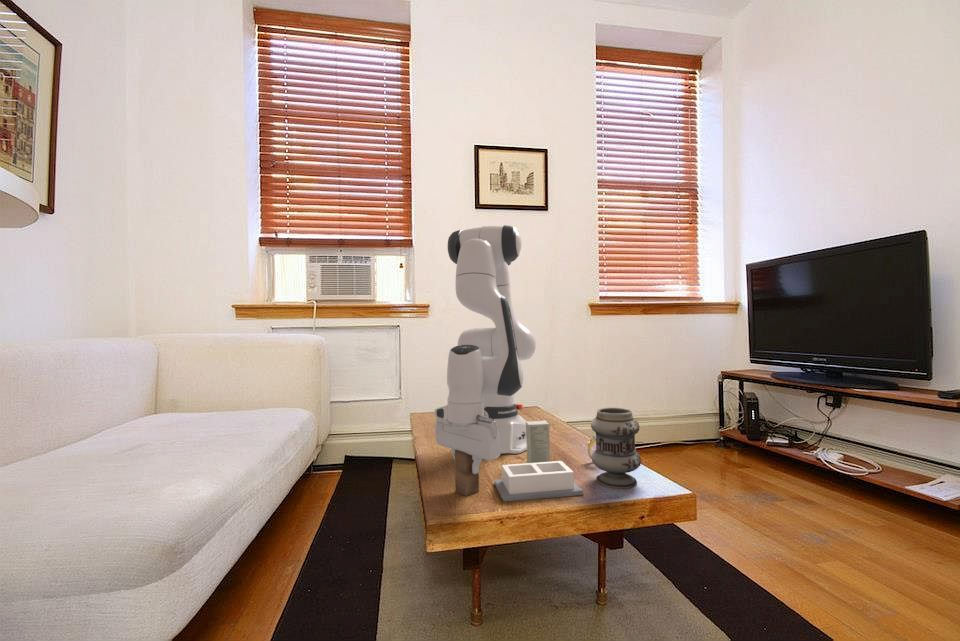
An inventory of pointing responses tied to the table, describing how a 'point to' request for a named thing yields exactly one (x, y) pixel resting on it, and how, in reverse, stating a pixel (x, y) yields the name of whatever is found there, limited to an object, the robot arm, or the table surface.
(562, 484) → the slot rack
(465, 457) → the walnut peg
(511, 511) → the table surface
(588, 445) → the ring
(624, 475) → the apothecary jar
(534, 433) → the skincare box
